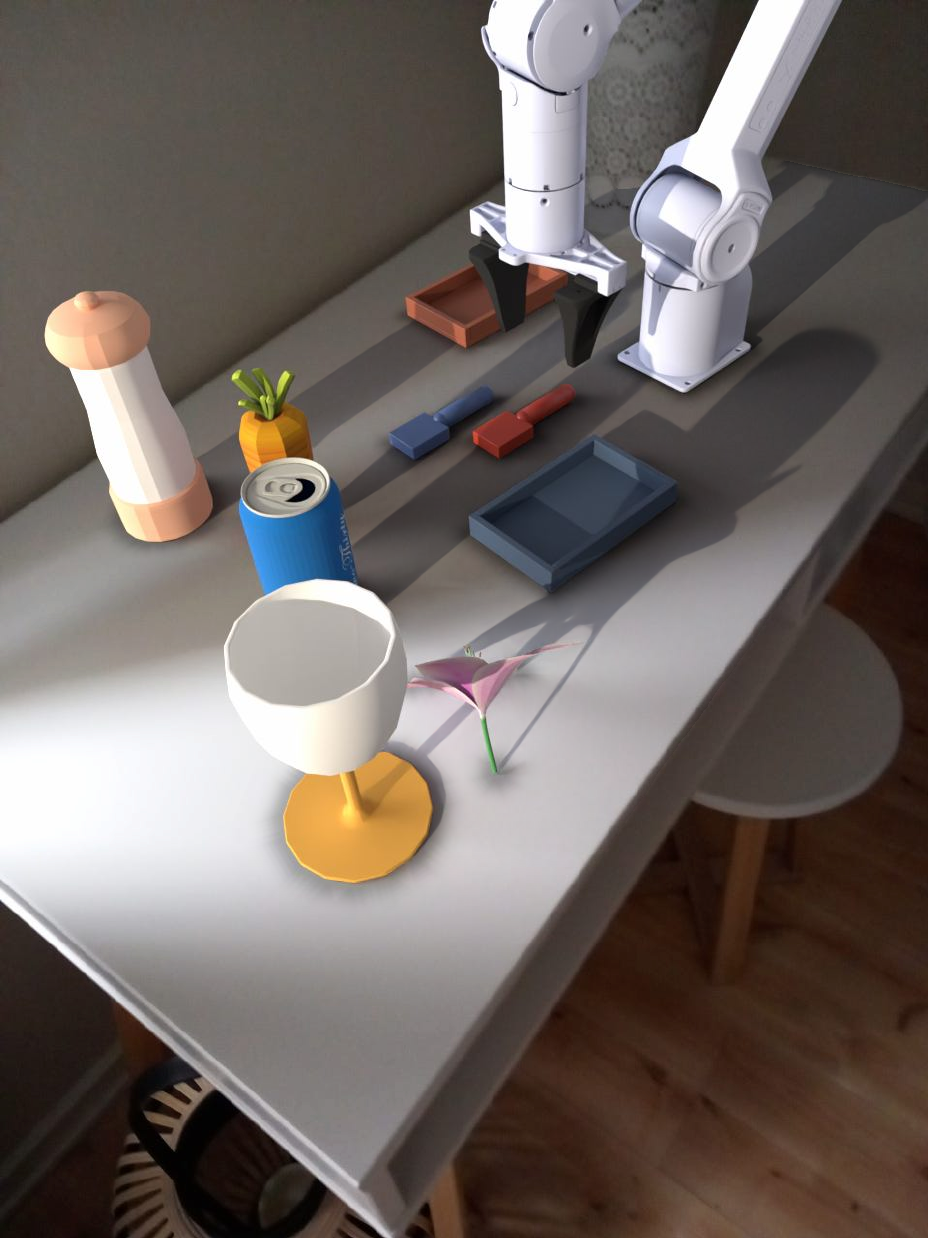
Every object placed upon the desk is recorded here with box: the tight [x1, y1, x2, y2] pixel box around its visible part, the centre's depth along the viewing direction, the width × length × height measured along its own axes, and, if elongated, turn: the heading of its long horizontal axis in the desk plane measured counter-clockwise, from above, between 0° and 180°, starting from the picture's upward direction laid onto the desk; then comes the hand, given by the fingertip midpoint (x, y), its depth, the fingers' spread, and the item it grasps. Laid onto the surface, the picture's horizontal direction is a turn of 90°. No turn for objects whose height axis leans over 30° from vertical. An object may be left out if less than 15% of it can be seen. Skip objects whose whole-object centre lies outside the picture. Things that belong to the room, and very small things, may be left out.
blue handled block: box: [388, 385, 495, 461], centre depth 83 cm, size 10×3×2 cm, turn 132°
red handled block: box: [472, 383, 576, 459], centre depth 83 cm, size 10×3×2 cm, turn 132°
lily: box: [406, 641, 583, 774], centre depth 60 cm, size 12×12×10 cm
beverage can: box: [238, 458, 360, 596], centre depth 65 cm, size 6×6×12 cm
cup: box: [223, 579, 434, 884], centre depth 53 cm, size 9×9×16 cm
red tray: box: [405, 263, 569, 349], centre depth 96 cm, size 14×9×2 cm, turn 132°
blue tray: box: [468, 433, 679, 593], centre depth 74 cm, size 14×9×2 cm, turn 132°
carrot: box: [231, 367, 315, 474], centre depth 70 cm, size 5×5×15 cm
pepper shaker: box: [44, 290, 214, 543], centre depth 71 cm, size 7×7×19 cm
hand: (544, 343), depth 79 cm, fingers open, 7 cm apart
